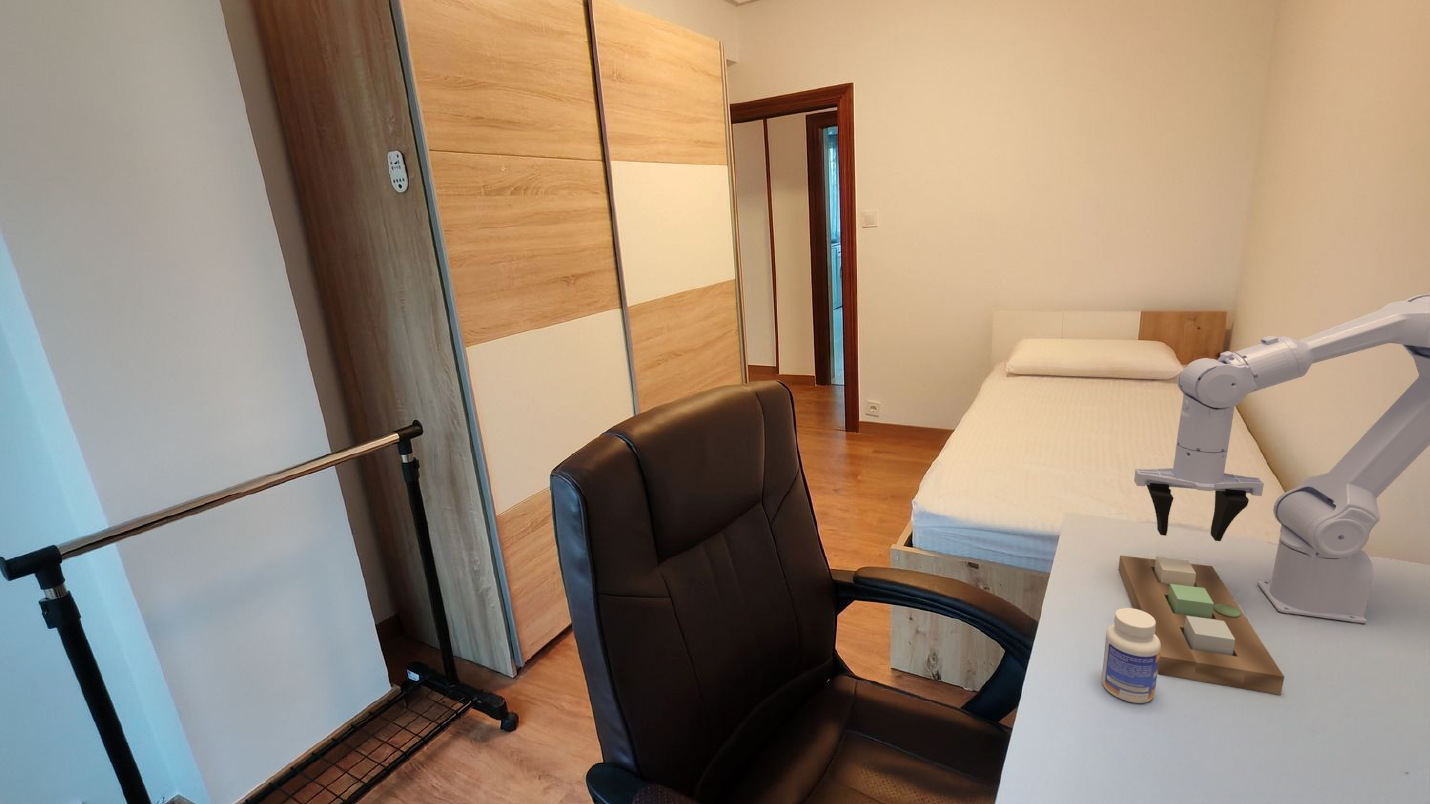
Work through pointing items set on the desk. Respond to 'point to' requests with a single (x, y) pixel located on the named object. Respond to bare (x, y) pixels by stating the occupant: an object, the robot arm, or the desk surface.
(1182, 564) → the cream button
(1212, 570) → the brown wooden slotted board
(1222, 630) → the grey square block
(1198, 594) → the sage button
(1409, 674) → the desk surface
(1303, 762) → the desk surface
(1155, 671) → the pill bottle
